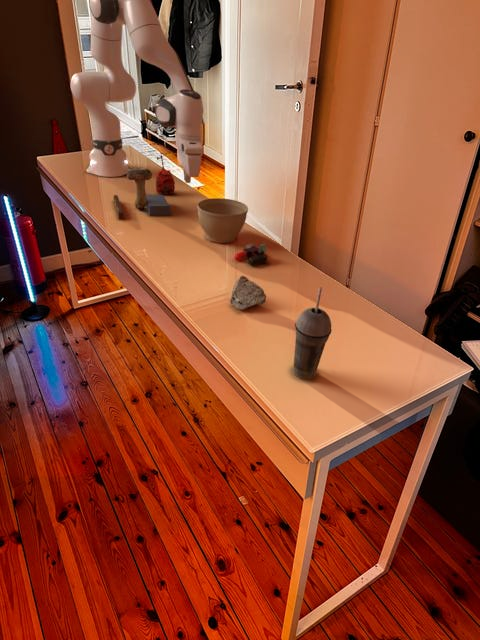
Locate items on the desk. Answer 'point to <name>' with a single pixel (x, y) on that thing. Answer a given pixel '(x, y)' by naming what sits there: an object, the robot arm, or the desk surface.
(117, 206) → the ledge
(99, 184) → the desk surface
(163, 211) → the block
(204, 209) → the planter bowl
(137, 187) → the mushroom
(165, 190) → the red clay folk toy
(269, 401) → the desk surface
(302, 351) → the beverage cup
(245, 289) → the rock sample
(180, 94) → the robot arm
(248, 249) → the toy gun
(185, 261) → the desk surface
